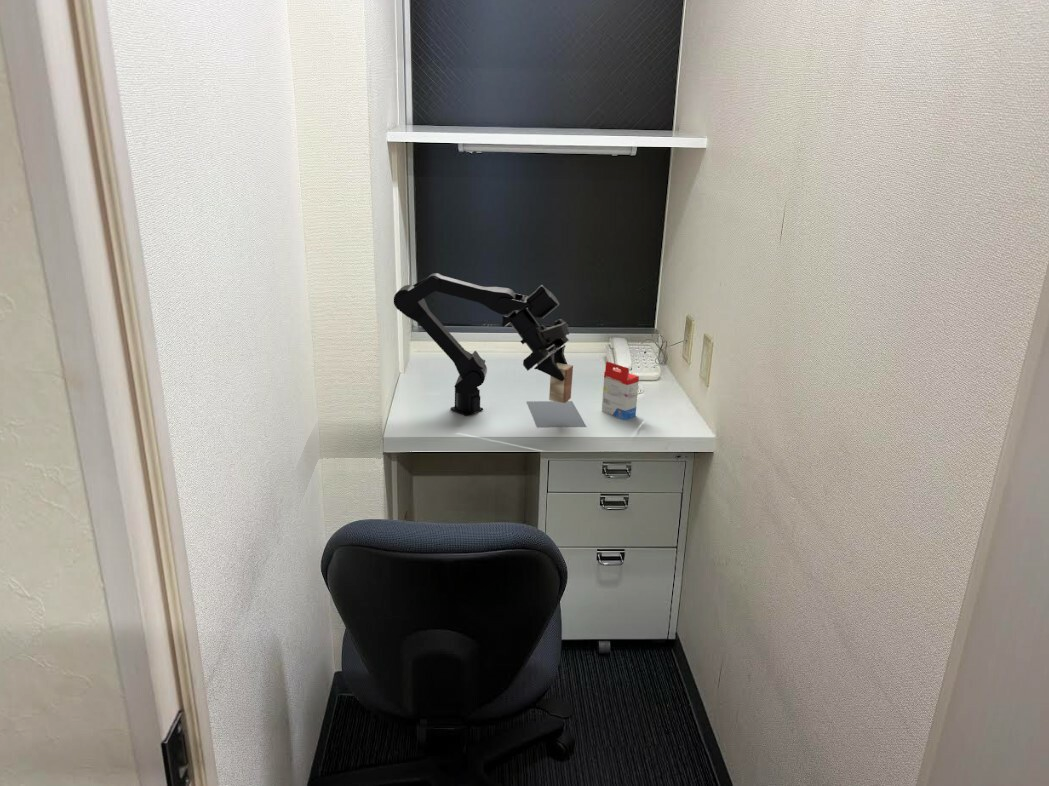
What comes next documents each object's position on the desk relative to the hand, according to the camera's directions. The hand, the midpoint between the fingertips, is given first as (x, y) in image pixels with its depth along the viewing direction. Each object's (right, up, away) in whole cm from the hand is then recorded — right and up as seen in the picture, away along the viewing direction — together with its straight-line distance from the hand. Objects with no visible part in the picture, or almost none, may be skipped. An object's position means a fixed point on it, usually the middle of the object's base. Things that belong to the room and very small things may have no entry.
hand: (566, 377), depth 203 cm
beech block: (-2, -6, +3) cm, 6 cm away
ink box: (+15, -10, +12) cm, 21 cm away
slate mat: (-3, -10, +9) cm, 14 cm away
